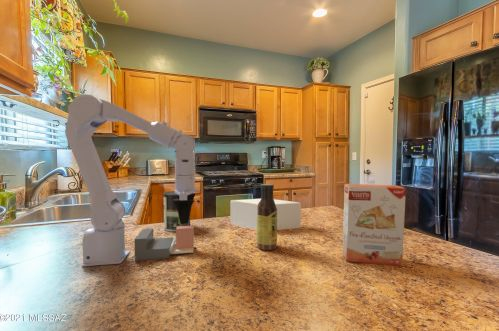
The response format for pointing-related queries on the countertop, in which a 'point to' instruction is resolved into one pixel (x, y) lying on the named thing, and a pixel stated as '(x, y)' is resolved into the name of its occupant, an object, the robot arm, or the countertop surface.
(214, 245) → the countertop surface
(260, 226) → the sauce bottle
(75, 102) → the robot arm
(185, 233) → the pink and white block
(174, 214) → the coffee can
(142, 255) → the dispenser
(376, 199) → the cracker box
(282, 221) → the white rectangular box
